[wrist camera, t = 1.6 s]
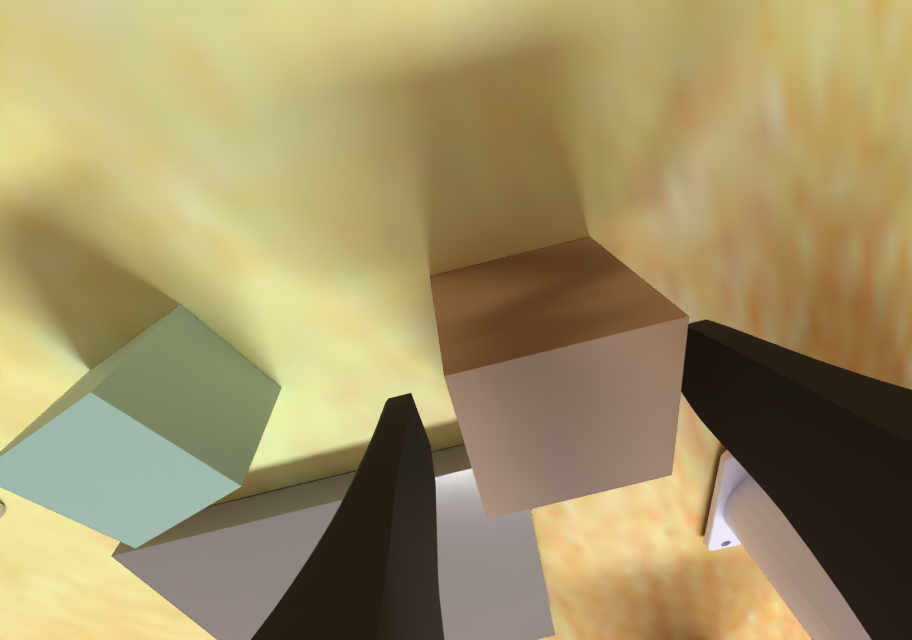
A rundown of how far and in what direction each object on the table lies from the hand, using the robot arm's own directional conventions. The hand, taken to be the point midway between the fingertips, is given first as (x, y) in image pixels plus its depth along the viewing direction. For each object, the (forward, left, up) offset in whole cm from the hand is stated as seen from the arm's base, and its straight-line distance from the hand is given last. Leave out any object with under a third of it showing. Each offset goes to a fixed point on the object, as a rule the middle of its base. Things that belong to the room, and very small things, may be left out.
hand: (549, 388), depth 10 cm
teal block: (+11, -1, -4) cm, 11 cm away
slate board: (+9, +13, -3) cm, 16 cm away
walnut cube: (0, 0, -4) cm, 4 cm away
